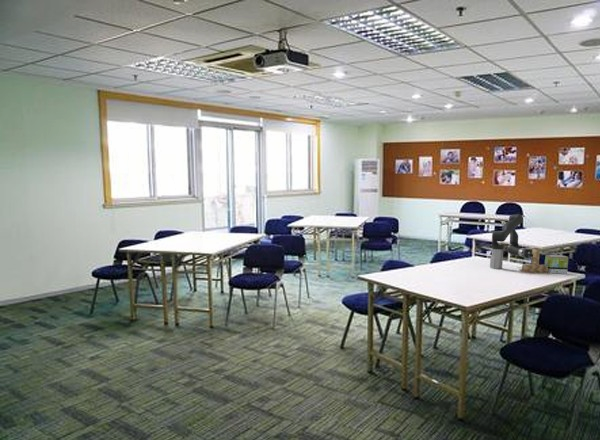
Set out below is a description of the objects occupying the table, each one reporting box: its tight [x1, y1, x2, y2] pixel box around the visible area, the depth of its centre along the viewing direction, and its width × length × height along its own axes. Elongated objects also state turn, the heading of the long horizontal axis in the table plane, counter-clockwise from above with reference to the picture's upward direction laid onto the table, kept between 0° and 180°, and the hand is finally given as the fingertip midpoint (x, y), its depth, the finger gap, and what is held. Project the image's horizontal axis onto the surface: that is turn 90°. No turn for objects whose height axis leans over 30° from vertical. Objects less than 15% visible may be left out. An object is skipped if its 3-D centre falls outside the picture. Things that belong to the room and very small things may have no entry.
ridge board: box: [519, 263, 551, 274], centre depth 394 cm, size 20×13×6 cm, turn 100°
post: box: [530, 248, 541, 265], centre depth 394 cm, size 4×4×14 cm
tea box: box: [544, 254, 569, 274], centre depth 396 cm, size 15×10×15 cm, turn 97°
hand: (537, 255), depth 392 cm, fingers open, 8 cm apart
